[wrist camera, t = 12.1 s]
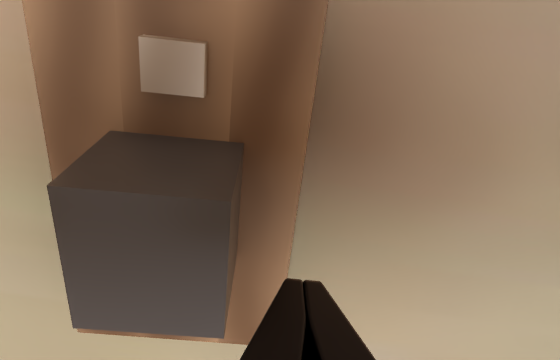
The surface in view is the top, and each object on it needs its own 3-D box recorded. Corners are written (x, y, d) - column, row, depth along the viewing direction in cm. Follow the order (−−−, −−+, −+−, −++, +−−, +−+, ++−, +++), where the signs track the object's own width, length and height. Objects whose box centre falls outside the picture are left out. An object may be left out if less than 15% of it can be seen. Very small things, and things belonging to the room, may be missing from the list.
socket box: (320, -5, 17) (330, -3, 14) (276, 307, 25) (276, 355, 22) (58, -37, 16) (4, -42, 13) (100, 293, 24) (72, 341, 21)
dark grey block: (247, 127, 18) (231, 201, 12) (240, 233, 21) (223, 338, 15) (126, 116, 18) (46, 185, 12) (134, 224, 21) (73, 328, 15)
